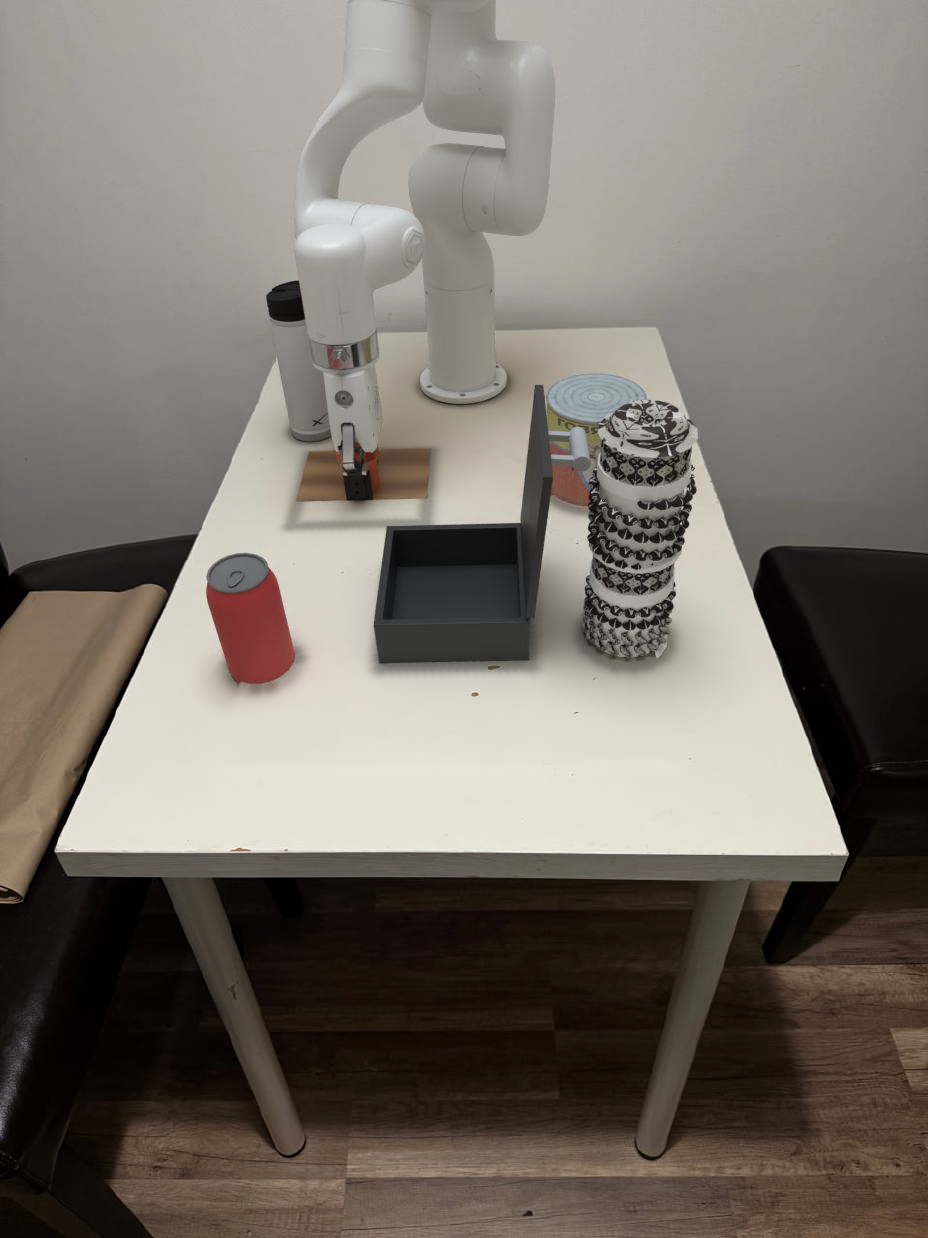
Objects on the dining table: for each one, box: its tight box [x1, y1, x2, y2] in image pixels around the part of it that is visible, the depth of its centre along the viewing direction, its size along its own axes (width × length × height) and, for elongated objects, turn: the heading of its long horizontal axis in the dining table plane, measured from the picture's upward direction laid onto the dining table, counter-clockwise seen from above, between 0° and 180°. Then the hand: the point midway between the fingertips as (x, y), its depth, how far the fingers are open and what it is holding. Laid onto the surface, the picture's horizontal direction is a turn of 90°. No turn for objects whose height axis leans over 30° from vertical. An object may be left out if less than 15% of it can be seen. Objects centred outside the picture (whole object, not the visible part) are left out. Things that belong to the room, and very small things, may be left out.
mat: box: [295, 447, 432, 503], centre depth 111 cm, size 16×16×1 cm
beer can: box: [205, 552, 296, 685], centre depth 84 cm, size 7×7×12 cm
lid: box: [519, 384, 591, 619], centre depth 83 cm, size 16×16×5 cm
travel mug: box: [265, 279, 332, 442], centre depth 115 cm, size 6×7×20 cm
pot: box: [336, 443, 380, 492], centre depth 109 cm, size 5×5×5 cm
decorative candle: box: [581, 398, 699, 660], centre depth 81 cm, size 9×9×25 cm
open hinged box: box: [373, 522, 531, 664], centre depth 91 cm, size 15×16×6 cm
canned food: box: [545, 372, 648, 508], centre depth 105 cm, size 11×11×12 cm
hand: (363, 481), depth 110 cm, fingers open, 6 cm apart
